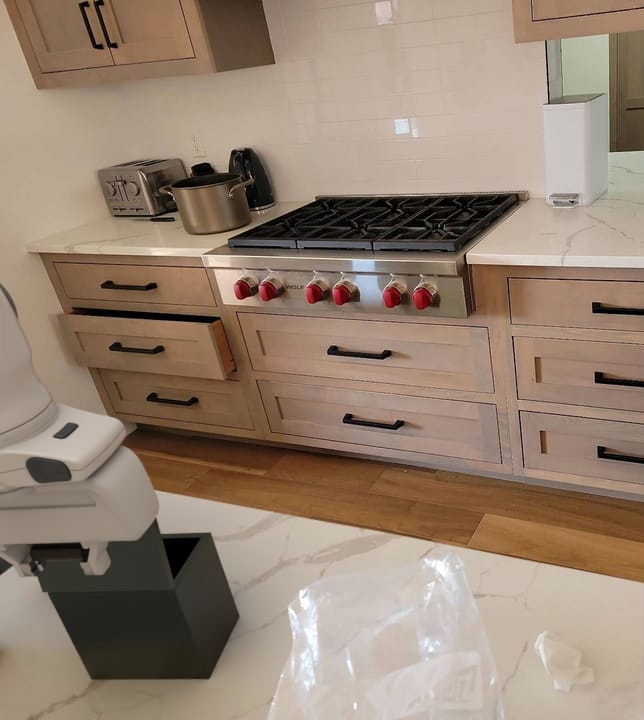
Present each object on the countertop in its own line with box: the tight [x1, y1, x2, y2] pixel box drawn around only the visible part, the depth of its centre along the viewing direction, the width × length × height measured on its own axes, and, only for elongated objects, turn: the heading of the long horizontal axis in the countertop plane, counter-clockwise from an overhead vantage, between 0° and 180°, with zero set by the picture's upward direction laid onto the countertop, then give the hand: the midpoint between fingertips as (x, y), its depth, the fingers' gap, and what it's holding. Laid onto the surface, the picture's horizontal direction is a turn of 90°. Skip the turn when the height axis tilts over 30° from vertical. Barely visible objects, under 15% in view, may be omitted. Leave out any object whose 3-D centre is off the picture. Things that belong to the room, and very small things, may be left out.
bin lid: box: [26, 517, 175, 593], centre depth 64 cm, size 10×14×5 cm
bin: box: [46, 531, 240, 680], centre depth 75 cm, size 9×14×13 cm, turn 86°
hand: (67, 571), depth 62 cm, fingers closed on bin lid, 5 cm apart
